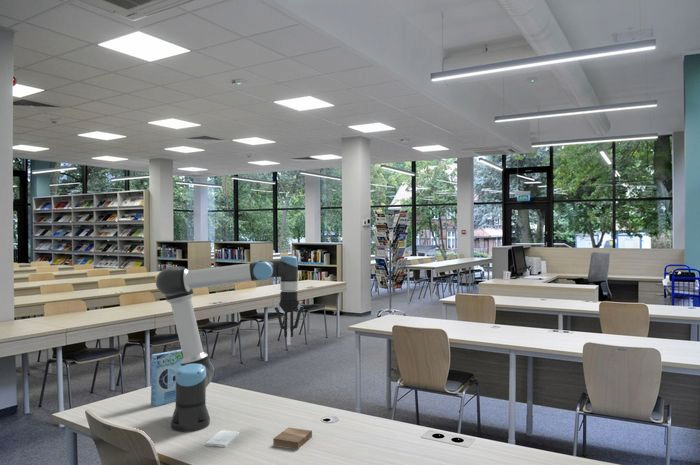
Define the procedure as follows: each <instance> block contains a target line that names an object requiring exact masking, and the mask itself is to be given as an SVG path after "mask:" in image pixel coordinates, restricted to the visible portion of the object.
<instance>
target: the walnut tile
mask: <svg viewBox="0 0 700 465" xmlns="http://www.w3.org/2000/svg"><path fill="white" fill-rule="evenodd" d="M312 437H313V430H310V429H302V428H295V427H290V426H289V427H286V429H284V430H283V431H281V432H280V433H279V434H277V435H276V436H275V437H273V440H272V441H273V444H272V445H273V446H274V447H281V448H286V449H291V448H292V449H293V450H299V449H300V448H302V447H303V446H304V445H305V444H307V442H308V441H309V440H311V439H312ZM301 446H302V447H301Z"/></svg>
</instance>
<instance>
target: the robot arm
mask: <svg viewBox="0 0 700 465" xmlns="http://www.w3.org/2000/svg"><path fill="white" fill-rule="evenodd" d="M298 270H299V268H298V257H297V256H295V255H283V256H282V255H281V256H280V260H254V261H253V262H250V263H249V262H248V263H242V264H232V265H224V266H217V267H208V268H201V269H191V270H189V269H188V268H185V267H183V266H179V265H177V266H173V267H167V268H165V269H162V270H161V271H160V272H159V273H158V274H157V275H156V279H155V286H156V288H157V290H158V292H160V293H161V294H162V295H164V297H165V301H166V302H168V303H169V304H170V306H171V311H172V314H173V318H174V323H175V327H176V332H177V336H178V340H179V344H180V348H181V350H182V354H183V359H182V361H181V367H179V368H178V369H177V371H176V377H175V380H176V401H175V407H174V411H173V414H172V417H171V420H170V429H172V430H173V431H175V432H194V431H198V430H202V429H205V428H207V427H209V425H210V423H211V421H210V420H211V417H210V413H209V411H208V408H207V405H206V403H207V402H206V400H207V399H206V393H207V392H206V391H207V389H206V388H207V387H208V385H209V384H210V383H211V382H212V381H213V378H214V375H215V374H214V373H215V368H214V366H213V364H212V362H211V361H210V359H209V355H208V353H207V352H204V349H203V345H202V339H201V336H200V332H199V327H198V322H197V319H196V314H195V310H194V305H193V302H192V297H193V296H194V295H195V293H194V289H202V288H209V287H216V286H217V287H218V286H225V285H231V284H233V285H234V284H239V283H247V282H248V283H249V282H256V281H267V280H269V279H272V278H280V286H279V287H280V288H279V289H280V297H279V299H280V300H279V303H278V305H275V307H274V311H275V312H276V314H277V318H278V322H279V326H280V327H279V328H280V329H282V330H283V331H284V332H283V333H284V335H283V336H284V338H286V346H291V343H292V342H291V338H293V337H294V329H298V325H299V323H300V318H301V313H302V312H303V310H304V306H302V305H300V304H299V303H300V302H299V301H298V285H299V284H298V274H299V273H298ZM281 310H282V311H283V312H284V316H283V317H284V318H283V319H284V325H283V321H282V316H281ZM295 310H297V314H296V317H295V321H294V312H295ZM288 313H289V320H290V321H289V328H288Z"/></svg>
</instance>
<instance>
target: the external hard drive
mask: <svg viewBox="0 0 700 465" xmlns="http://www.w3.org/2000/svg"><path fill="white" fill-rule="evenodd" d="M240 435H241V432H240V431H235V430H224V429H223V430H221V429H220V430H219V431H218V432H217V433H216V434H214V435H213V436H212V437H211V438H209V439H208V441H206V442H205V443H204V446H205V447H218V448H219V447H220V448H227V446H228V445H229V444H231V443H232V442H233V441H234V440H236V438H238V437H239V436H240Z"/></svg>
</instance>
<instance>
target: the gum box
mask: <svg viewBox="0 0 700 465" xmlns="http://www.w3.org/2000/svg"><path fill="white" fill-rule="evenodd" d="M182 359H183V354H182V350H181V349H176V350H169V351H165V352H158V353H154V354H151V366H150V367H151V368H150V369H151V372H150V373H151V377H150V378H151V380H150V384H151V385H150V405H151V406H153V407H159V406H163V405H166V404H169V403H174V402H176V380H175V377H176V371H177V369H178V368H179V367H181V361H182Z"/></svg>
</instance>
